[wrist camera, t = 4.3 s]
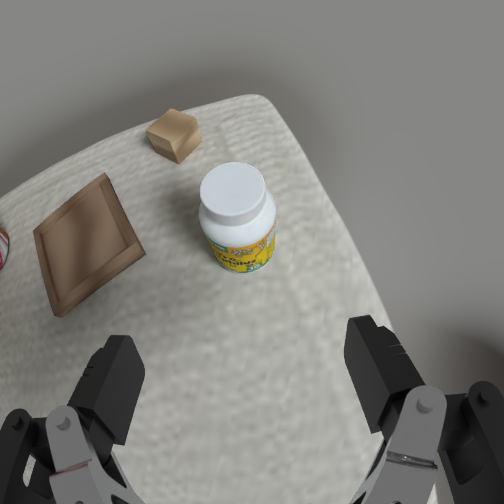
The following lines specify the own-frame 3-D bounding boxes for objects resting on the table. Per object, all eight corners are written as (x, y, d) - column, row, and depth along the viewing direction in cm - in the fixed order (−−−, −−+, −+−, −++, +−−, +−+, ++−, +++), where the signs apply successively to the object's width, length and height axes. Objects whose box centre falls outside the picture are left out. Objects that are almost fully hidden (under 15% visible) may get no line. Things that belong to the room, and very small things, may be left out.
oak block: (179, 165, 29) (169, 141, 25) (156, 153, 30) (145, 130, 26) (202, 142, 30) (195, 117, 27) (178, 131, 31) (170, 108, 28)
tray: (61, 317, 23) (54, 315, 22) (38, 234, 27) (33, 230, 26) (146, 254, 25) (141, 249, 24) (108, 178, 29) (104, 172, 28)
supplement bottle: (280, 228, 26) (287, 162, 17) (264, 283, 24) (264, 237, 15) (225, 215, 26) (208, 147, 18) (206, 266, 25) (174, 214, 16)
